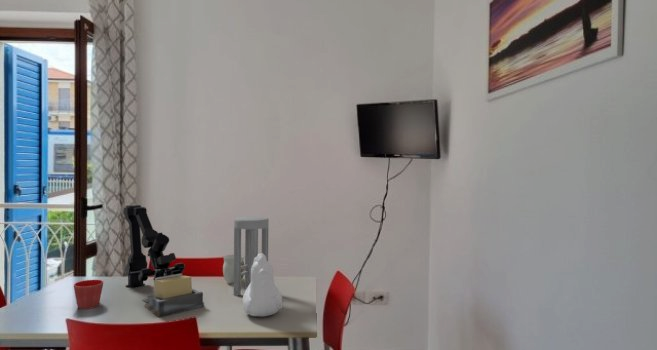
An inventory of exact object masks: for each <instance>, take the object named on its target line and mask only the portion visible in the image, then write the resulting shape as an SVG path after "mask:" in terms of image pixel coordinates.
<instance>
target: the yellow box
mask: <svg viewBox="0 0 657 350" xmlns="http://www.w3.org/2000/svg"><path fill="white" fill-rule="evenodd" d="M192 287H193V284H192V276H188V275H183V272H182V273H181V274H175V275H173V274H172V275H169V276H164V277H158V278H155V280H153V290H154V297H156V298H157V299H159V300H165V299H169V298H174V297H179V296H183V295H188V294H192V289H193V288H192Z"/></svg>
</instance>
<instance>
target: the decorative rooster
mask: <svg viewBox="0 0 657 350" xmlns="http://www.w3.org/2000/svg"><path fill="white" fill-rule="evenodd" d="M274 278H275V277H274V268H273V265H272V264H271V262H269V260H268V261H267V259H266V256H265V255H264V254H263V253H262V252H261V253H258V255H257V257H255V258H254V262H253V265H252V267H251V283H250V284H249V286H248V287H247V289H246V290H245V291H244V294H243V296H242V307H243V310H244V313H246V314H248V315H250V316H252V317H267V316H271V315H275V314H276V313H277V312H278V311H279V310H281V309H282V307H283V297H282V292H281V291H280V289H278V287H277V286H276V283H275V280H274Z"/></svg>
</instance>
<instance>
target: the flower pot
mask: <svg viewBox="0 0 657 350" xmlns="http://www.w3.org/2000/svg"><path fill="white" fill-rule="evenodd" d="M103 287H104V280H101V279H86V280H82V281H80V280H79V281H77V282H75V283H74V284H73V289H74V295H75V301H76V305H77V308H78V309H84V310H88V309H93V308H96V307H99V305H100V303H101V302H100V301H101V296H102V293H103Z"/></svg>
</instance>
